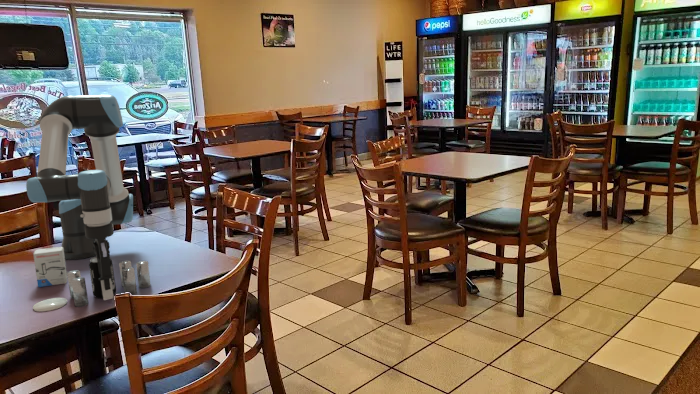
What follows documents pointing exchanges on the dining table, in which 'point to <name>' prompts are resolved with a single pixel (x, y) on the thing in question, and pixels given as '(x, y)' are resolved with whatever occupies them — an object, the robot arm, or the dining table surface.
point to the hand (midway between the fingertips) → (108, 298)
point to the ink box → (50, 266)
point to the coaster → (50, 304)
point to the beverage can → (95, 278)
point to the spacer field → (127, 280)
